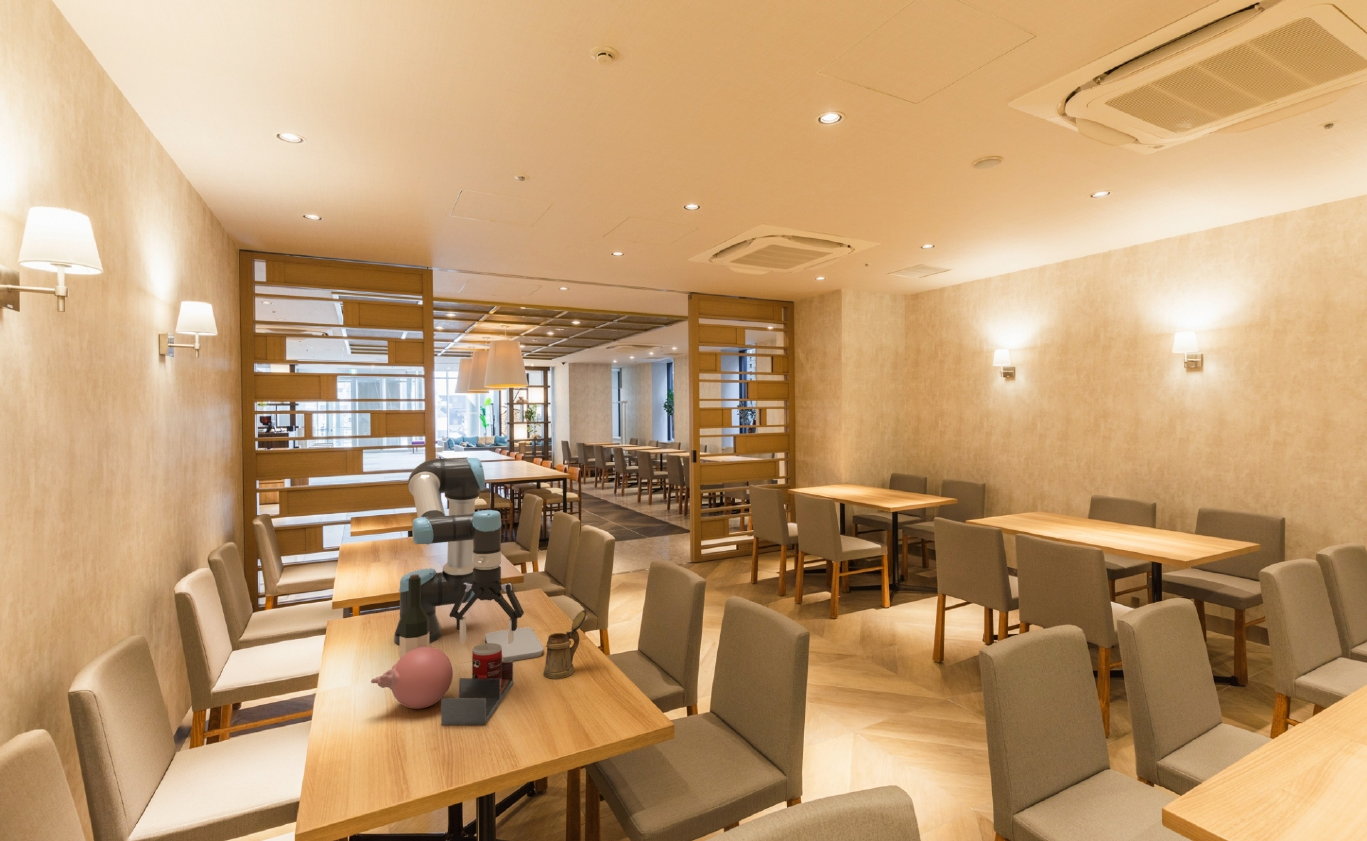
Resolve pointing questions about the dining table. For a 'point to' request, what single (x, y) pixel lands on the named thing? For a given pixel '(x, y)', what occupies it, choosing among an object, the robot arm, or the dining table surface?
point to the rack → (477, 698)
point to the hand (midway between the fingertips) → (486, 641)
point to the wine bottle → (414, 620)
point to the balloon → (419, 677)
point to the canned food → (487, 661)
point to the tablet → (517, 644)
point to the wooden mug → (563, 650)
